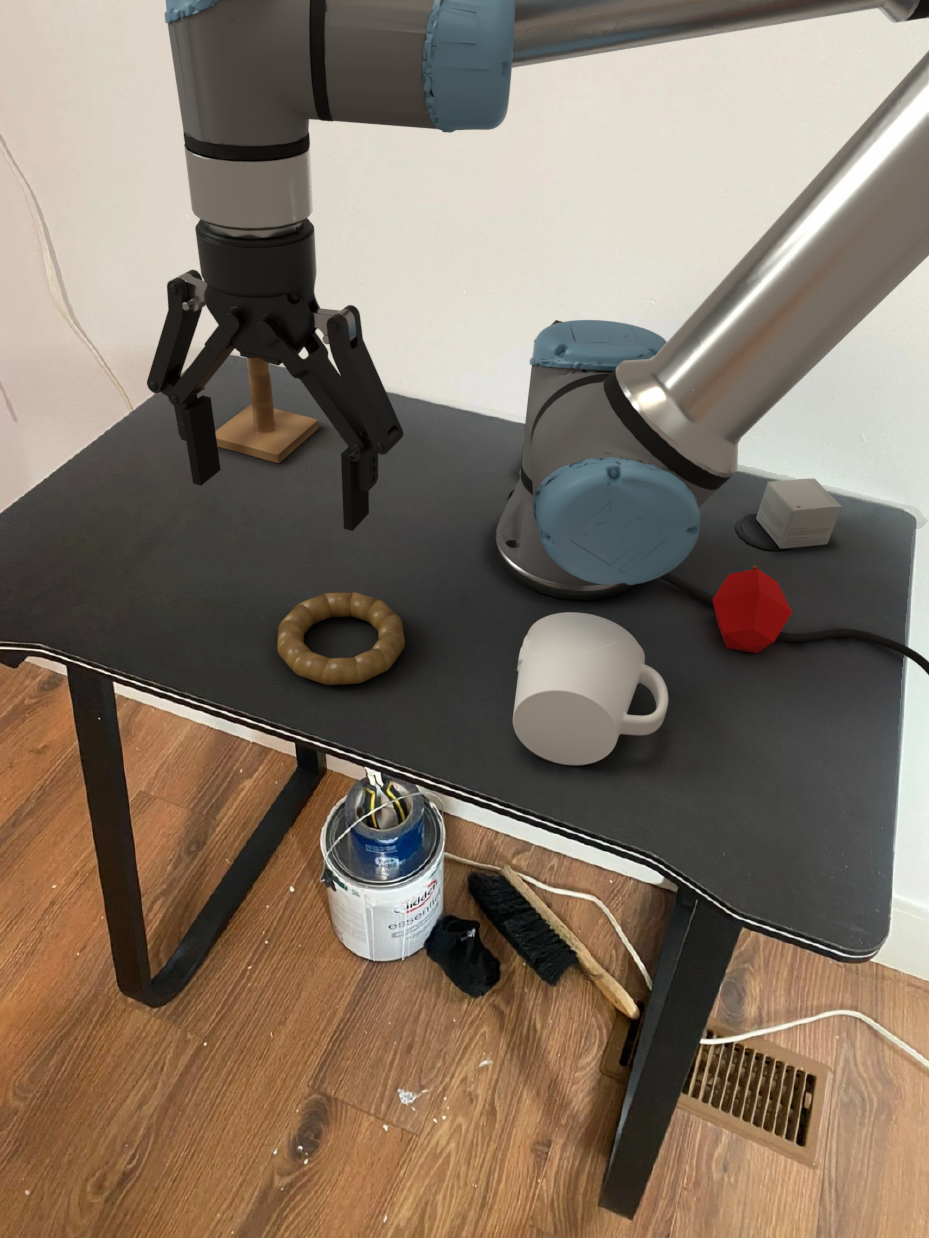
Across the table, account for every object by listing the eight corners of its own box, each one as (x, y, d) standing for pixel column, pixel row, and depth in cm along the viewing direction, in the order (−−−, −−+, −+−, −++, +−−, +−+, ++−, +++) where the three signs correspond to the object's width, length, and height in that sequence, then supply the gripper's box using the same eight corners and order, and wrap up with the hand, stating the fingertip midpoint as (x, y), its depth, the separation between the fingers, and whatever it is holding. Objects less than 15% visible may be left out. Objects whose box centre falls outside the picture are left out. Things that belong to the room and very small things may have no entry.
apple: (793, 631, 76) (797, 551, 80) (708, 625, 78) (716, 548, 82) (787, 669, 82) (791, 593, 86) (709, 663, 84) (716, 589, 88)
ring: (423, 626, 82) (424, 608, 81) (369, 705, 75) (368, 686, 73) (317, 593, 85) (316, 575, 84) (254, 666, 78) (251, 647, 76)
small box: (829, 545, 95) (844, 505, 92) (779, 550, 94) (792, 510, 91) (801, 514, 100) (815, 475, 96) (753, 519, 98) (765, 480, 95)
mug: (498, 750, 72) (506, 677, 67) (522, 671, 79) (531, 599, 74) (651, 785, 70) (672, 713, 65) (662, 701, 77) (681, 629, 72)
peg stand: (319, 428, 109) (311, 302, 99) (279, 463, 102) (266, 332, 92) (253, 411, 111) (239, 286, 101) (210, 445, 105) (190, 315, 95)
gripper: (456, 237, 58) (443, 515, 72) (131, 172, 65) (176, 439, 78) (405, 274, 53) (401, 567, 67) (56, 200, 59) (119, 481, 73)
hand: (280, 498), depth 73 cm, fingers open, 13 cm apart
